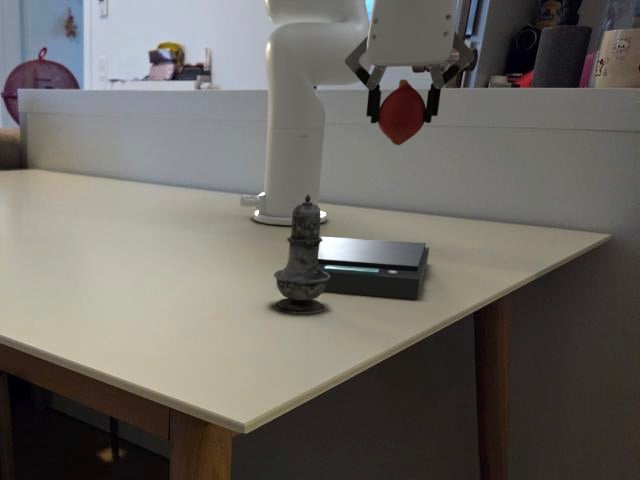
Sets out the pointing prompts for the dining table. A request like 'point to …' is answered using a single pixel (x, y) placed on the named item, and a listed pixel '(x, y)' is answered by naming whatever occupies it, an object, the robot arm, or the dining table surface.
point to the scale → (373, 266)
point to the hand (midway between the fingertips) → (400, 121)
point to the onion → (402, 113)
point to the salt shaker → (302, 264)
